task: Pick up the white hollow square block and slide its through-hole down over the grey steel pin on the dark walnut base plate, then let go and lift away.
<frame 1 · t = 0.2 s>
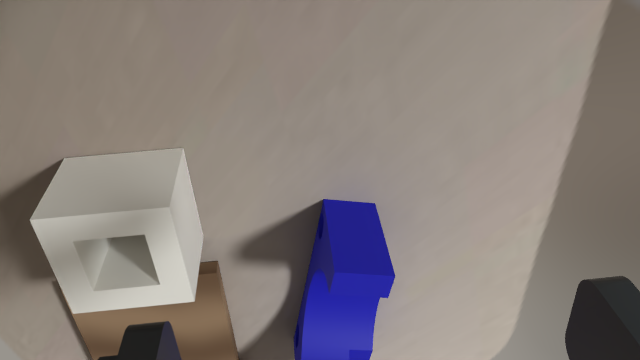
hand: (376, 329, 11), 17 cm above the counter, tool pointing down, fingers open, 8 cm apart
pin base: (163, 334, 35), on the counter
white hollow square block: (138, 199, 29), on the counter
blue curved saddle bracket: (341, 273, 34), on the counter
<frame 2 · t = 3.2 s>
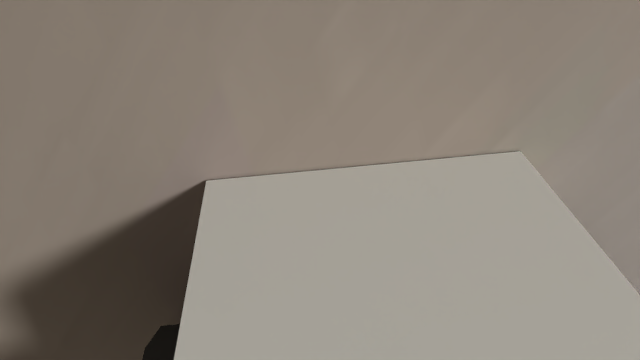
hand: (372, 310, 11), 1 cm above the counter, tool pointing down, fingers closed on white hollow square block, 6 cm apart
white hollow square block: (367, 283, 12), on the counter, touching gripper
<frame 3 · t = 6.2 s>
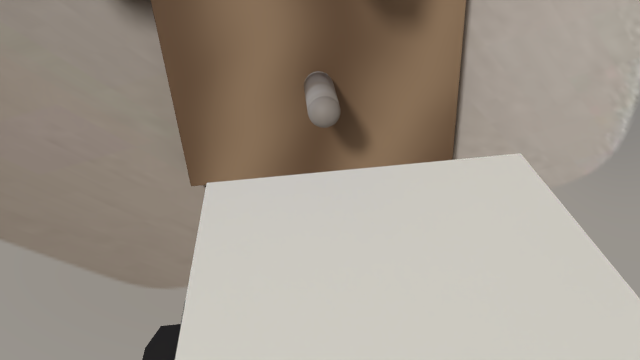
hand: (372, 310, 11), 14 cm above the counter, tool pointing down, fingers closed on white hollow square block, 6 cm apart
pin base: (315, 72, 23), on the counter
white hollow square block: (367, 285, 12), point 13 cm above the counter, touching gripper
when the fingers open (3 cm above the counter, at t = 9.1 s): white hollow square block stays where it is, resting on pin base.
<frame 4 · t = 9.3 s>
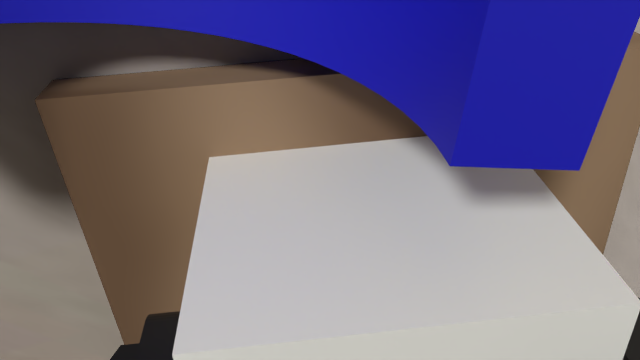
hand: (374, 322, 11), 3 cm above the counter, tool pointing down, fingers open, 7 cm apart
pin base: (354, 229, 13), on the counter
white hollow square block: (359, 255, 13), point 1 cm above the counter, touching pin base
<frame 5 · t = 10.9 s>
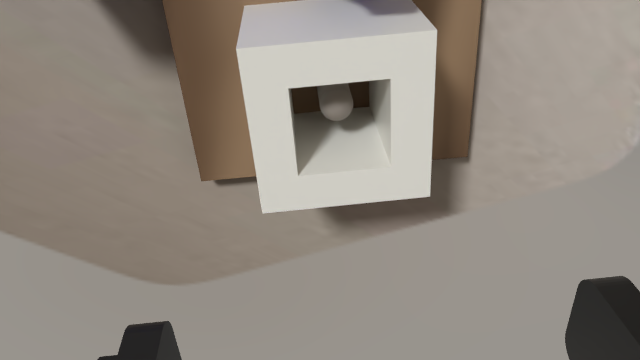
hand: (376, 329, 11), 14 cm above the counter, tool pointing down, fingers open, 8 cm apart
pin base: (327, 65, 23), on the counter
white hollow square block: (329, 74, 22), point 1 cm above the counter, touching pin base
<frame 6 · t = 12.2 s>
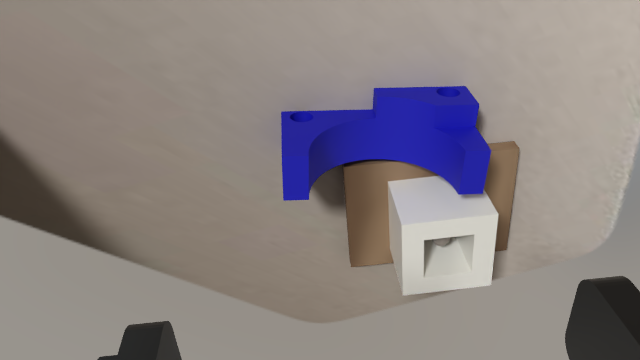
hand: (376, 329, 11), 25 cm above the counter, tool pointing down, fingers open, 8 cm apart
pin base: (426, 203, 40), on the counter
white hollow square block: (430, 211, 39), point 1 cm above the counter, touching pin base
blue curved saddle bracket: (371, 117, 36), on the counter
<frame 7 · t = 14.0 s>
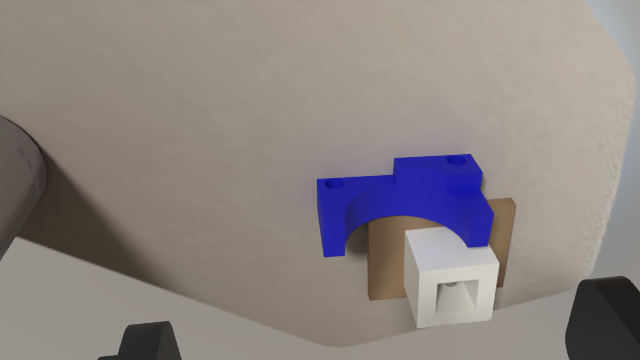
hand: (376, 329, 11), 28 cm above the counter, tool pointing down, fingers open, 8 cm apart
pin base: (436, 247, 47), on the counter
white hollow square block: (439, 255, 46), point 1 cm above the counter, touching pin base
blue curved saddle bracket: (391, 180, 43), on the counter
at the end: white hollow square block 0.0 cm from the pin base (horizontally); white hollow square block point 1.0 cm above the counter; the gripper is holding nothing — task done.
